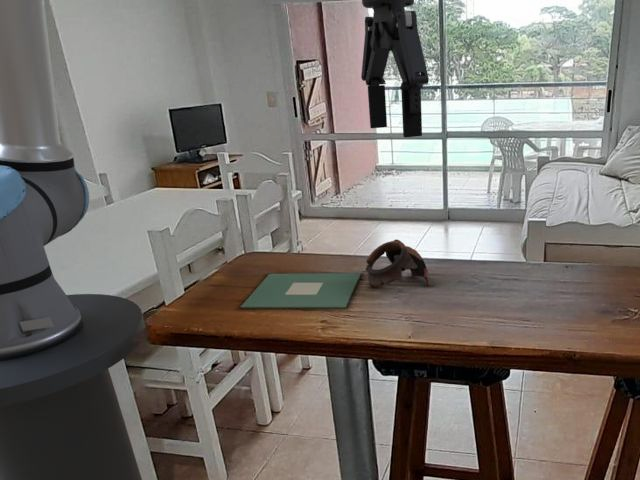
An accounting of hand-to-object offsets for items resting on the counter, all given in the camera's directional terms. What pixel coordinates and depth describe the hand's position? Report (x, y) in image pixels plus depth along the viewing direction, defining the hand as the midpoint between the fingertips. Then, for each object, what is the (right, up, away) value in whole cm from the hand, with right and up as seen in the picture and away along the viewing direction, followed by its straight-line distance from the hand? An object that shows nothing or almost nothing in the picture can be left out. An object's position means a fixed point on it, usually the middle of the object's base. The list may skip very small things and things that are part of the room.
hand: (394, 132), depth 90 cm
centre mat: (-15, -25, +2) cm, 29 cm away
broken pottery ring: (+1, -24, +4) cm, 24 cm away
